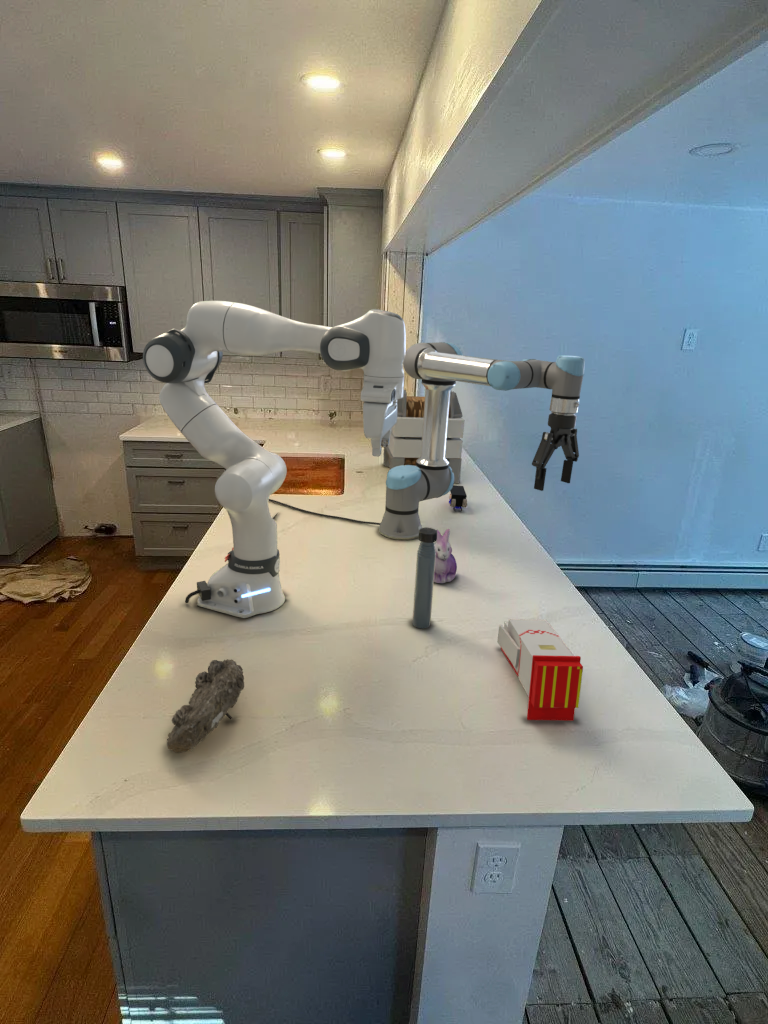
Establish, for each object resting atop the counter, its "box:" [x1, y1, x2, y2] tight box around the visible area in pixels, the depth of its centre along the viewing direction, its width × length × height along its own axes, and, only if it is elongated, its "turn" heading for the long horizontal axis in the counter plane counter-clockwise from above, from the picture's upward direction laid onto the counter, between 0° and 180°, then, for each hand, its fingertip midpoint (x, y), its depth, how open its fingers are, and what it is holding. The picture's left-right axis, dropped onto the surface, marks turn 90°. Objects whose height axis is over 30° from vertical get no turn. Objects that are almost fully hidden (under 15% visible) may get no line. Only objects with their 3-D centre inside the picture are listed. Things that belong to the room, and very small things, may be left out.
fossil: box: [166, 658, 245, 754], centre depth 106 cm, size 22×10×15 cm
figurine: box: [434, 528, 458, 584], centre depth 166 cm, size 9×10×15 cm
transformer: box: [383, 389, 465, 484], centre depth 268 cm, size 34×33×41 cm
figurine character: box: [448, 484, 468, 512], centre depth 228 cm, size 7×8×15 cm
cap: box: [417, 527, 438, 543], centre depth 135 cm, size 4×4×2 cm
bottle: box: [411, 541, 436, 629], centre depth 139 cm, size 5×5×25 cm
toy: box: [497, 618, 584, 722], centre depth 122 cm, size 12×13×30 cm
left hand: (380, 450), depth 128 cm, fingers open, 8 cm apart
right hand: (552, 485), depth 166 cm, fingers open, 13 cm apart
